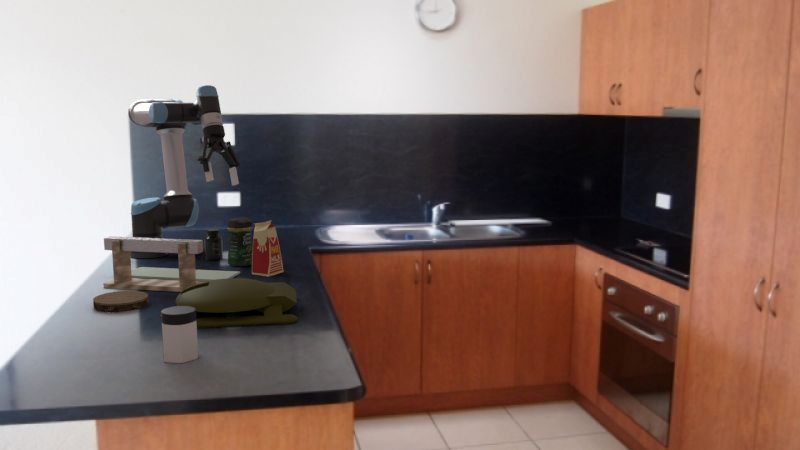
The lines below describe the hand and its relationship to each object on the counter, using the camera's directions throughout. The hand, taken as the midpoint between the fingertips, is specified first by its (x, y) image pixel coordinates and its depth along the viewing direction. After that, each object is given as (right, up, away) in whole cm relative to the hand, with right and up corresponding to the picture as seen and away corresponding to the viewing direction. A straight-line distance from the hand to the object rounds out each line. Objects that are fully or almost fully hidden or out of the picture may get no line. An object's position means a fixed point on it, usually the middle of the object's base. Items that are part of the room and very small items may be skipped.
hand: (223, 182), depth 265 cm
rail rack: (-20, -36, -15) cm, 44 cm away
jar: (+10, -48, -86) cm, 99 cm away
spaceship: (+15, -42, -45) cm, 63 cm away
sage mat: (-16, -34, +3) cm, 37 cm away
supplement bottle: (-11, -29, +32) cm, 45 cm away
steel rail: (-19, -24, -17) cm, 35 cm away
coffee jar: (+2, -31, +22) cm, 38 cm away
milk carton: (+14, -33, +7) cm, 37 cm away
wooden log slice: (-22, -41, -38) cm, 60 cm away
